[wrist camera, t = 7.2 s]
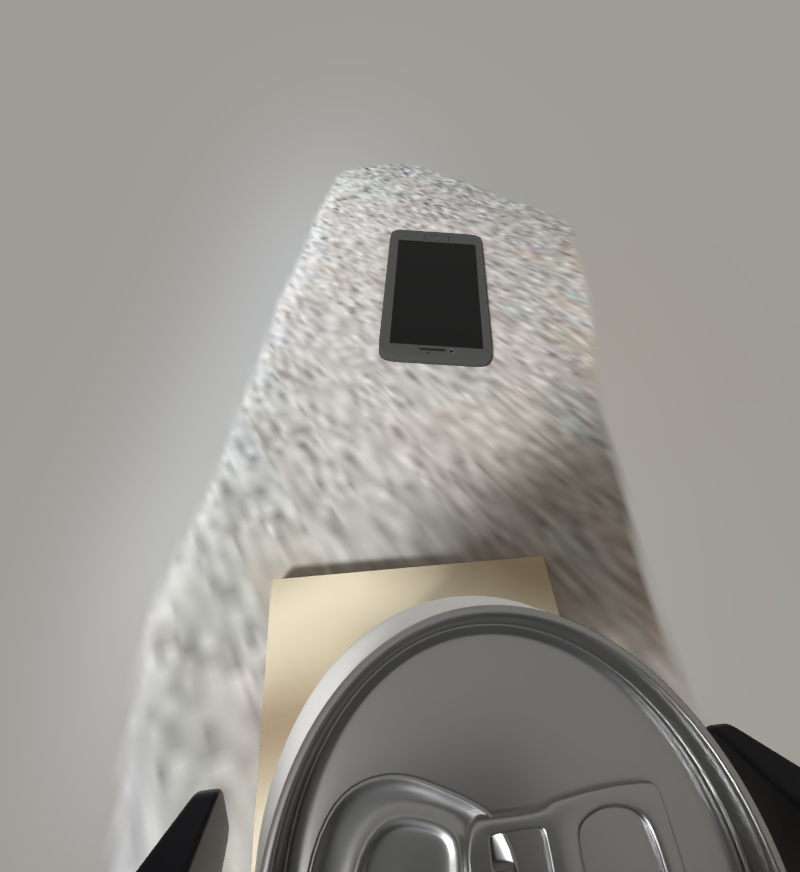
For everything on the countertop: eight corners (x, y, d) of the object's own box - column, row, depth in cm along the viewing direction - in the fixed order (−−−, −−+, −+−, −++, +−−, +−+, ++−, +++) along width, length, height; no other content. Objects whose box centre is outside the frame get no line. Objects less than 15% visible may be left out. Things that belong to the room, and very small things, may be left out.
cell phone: (479, 242, 33) (481, 234, 32) (491, 371, 26) (494, 364, 25) (390, 236, 33) (391, 227, 32) (377, 364, 25) (377, 356, 25)
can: (336, 647, 16) (250, 584, 6) (497, 637, 16) (692, 559, 6) (331, 882, 12) (89, 1826, 2) (535, 861, 13) (1138, 1577, 3)
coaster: (639, 945, 13) (658, 964, 12) (250, 1014, 12) (239, 1039, 11) (535, 561, 19) (542, 555, 18) (276, 584, 18) (271, 579, 17)
